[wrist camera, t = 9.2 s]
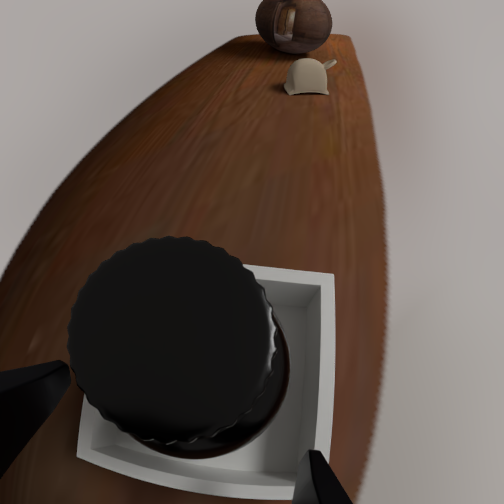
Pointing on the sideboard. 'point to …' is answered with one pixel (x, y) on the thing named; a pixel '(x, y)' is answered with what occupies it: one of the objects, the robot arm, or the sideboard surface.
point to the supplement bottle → (179, 348)
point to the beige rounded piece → (307, 76)
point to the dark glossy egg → (294, 24)
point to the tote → (280, 430)
